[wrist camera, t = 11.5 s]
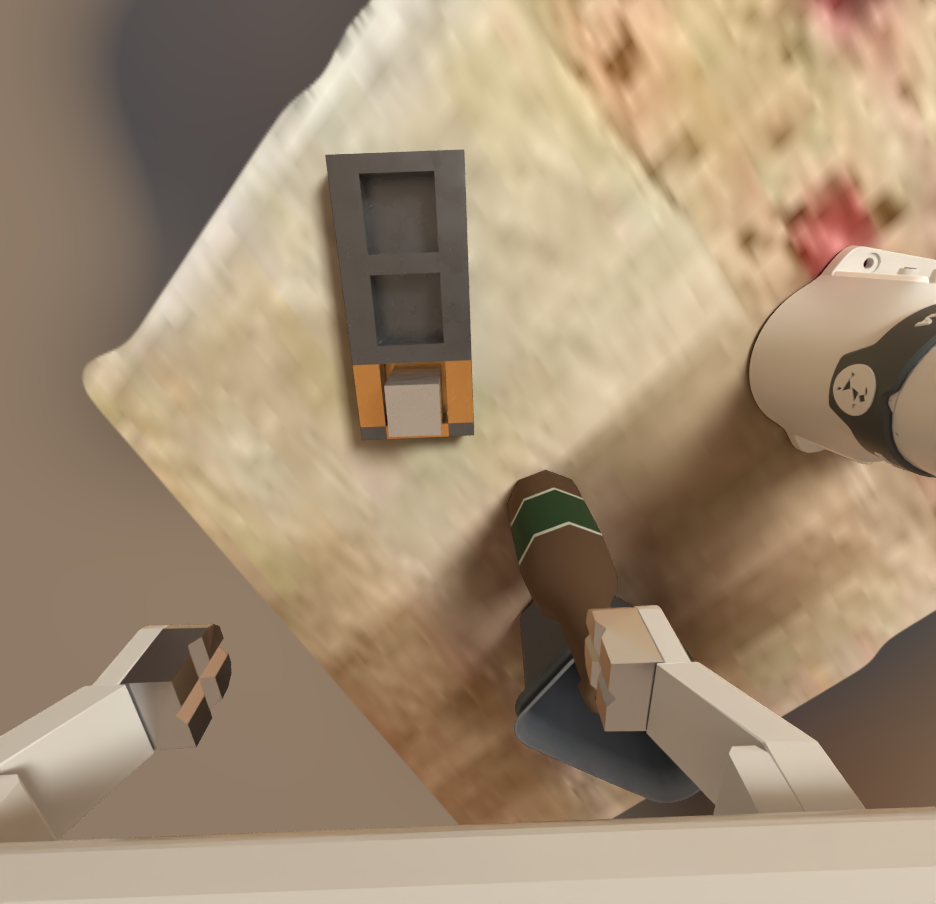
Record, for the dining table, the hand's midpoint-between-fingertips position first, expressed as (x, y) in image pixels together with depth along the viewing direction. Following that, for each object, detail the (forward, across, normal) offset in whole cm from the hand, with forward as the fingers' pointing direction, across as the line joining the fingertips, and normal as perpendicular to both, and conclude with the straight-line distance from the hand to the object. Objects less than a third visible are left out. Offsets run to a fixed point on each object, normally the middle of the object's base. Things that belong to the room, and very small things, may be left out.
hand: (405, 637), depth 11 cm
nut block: (+35, +3, +4) cm, 35 cm away
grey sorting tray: (+36, +3, -3) cm, 36 cm away
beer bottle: (+36, -9, +17) cm, 41 cm away
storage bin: (+36, -15, +34) cm, 51 cm away
